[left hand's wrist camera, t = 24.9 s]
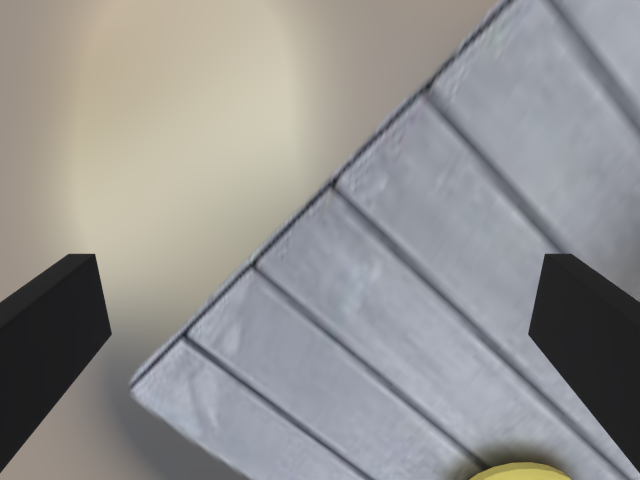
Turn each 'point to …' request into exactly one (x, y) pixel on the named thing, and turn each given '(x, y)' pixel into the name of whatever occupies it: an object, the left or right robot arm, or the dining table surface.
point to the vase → (521, 472)
